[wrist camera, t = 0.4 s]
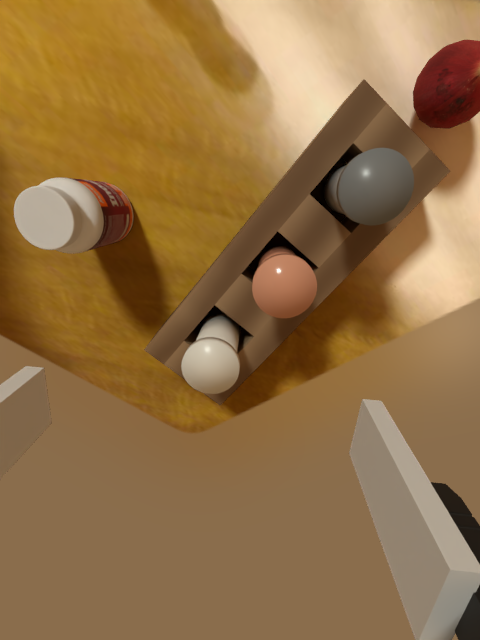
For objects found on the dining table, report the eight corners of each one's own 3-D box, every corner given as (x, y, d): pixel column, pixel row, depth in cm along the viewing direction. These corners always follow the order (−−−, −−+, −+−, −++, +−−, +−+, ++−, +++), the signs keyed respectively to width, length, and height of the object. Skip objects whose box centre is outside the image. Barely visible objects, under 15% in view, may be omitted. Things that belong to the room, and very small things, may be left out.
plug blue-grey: (308, 193, 30) (324, 193, 23) (347, 147, 29) (379, 130, 21) (346, 229, 31) (374, 240, 23) (386, 186, 29) (429, 183, 22)
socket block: (160, 328, 40) (144, 349, 34) (345, 100, 31) (364, 79, 25) (225, 377, 42) (220, 405, 36) (417, 175, 33) (450, 171, 27)
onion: (436, 147, 32) (490, 132, 24) (386, 115, 31) (426, 89, 24) (479, 83, 30) (552, 45, 23) (427, 47, 29) (484, -4, 22)
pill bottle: (142, 196, 35) (93, 195, 25) (126, 251, 37) (75, 272, 27) (84, 171, 34) (9, 160, 24) (72, 229, 36) (-2, 241, 26)
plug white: (188, 334, 35) (169, 370, 28) (216, 301, 34) (205, 330, 26) (224, 360, 36) (214, 403, 29) (253, 329, 35) (251, 366, 27)
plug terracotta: (243, 269, 33) (239, 291, 25) (276, 230, 31) (282, 241, 24) (280, 300, 34) (286, 330, 26) (314, 264, 32) (330, 284, 25)
